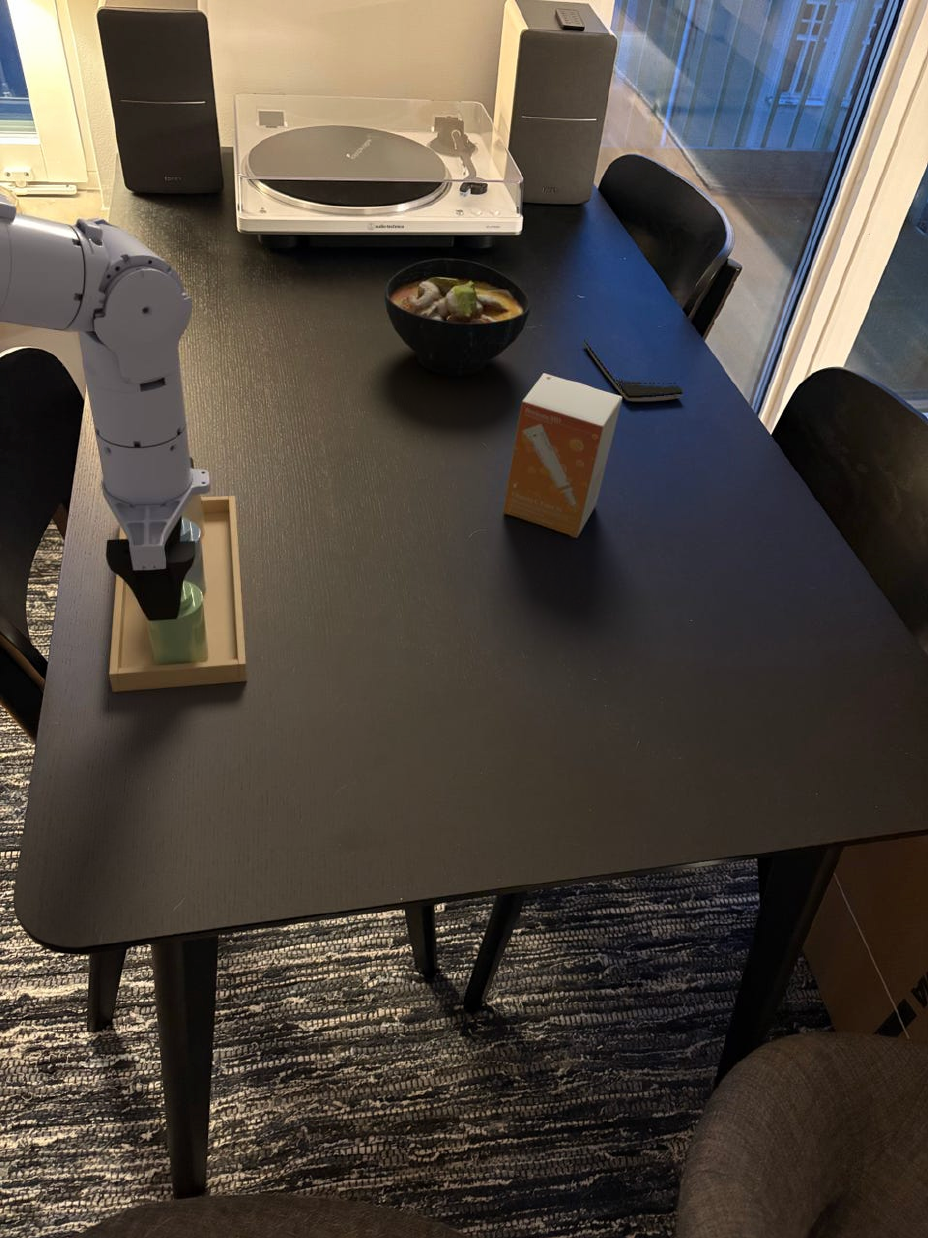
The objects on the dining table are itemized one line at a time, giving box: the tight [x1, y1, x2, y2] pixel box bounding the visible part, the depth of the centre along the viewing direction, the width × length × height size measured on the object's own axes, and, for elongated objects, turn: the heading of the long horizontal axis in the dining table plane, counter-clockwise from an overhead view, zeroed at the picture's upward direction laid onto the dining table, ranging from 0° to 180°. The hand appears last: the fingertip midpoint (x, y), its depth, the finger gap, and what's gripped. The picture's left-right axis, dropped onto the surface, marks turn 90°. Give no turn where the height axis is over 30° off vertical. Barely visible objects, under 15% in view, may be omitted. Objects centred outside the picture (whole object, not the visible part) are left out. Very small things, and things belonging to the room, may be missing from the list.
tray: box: [108, 495, 248, 693], centre depth 83 cm, size 10×22×2 cm, turn 12°
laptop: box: [582, 339, 684, 402], centre depth 120 cm, size 7×1×15 cm
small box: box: [503, 372, 623, 539], centre depth 94 cm, size 8×6×13 cm
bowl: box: [384, 258, 531, 377], centre depth 115 cm, size 17×17×10 cm
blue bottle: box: [180, 517, 207, 595], centre depth 81 cm, size 4×4×8 cm
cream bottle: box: [182, 467, 205, 538], centre depth 86 cm, size 4×4×8 cm
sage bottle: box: [146, 580, 209, 666], centre depth 75 cm, size 4×4×8 cm
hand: (163, 581), depth 72 cm, fingers open, 7 cm apart
